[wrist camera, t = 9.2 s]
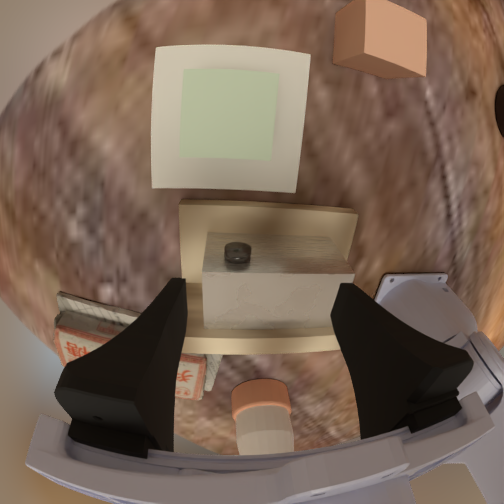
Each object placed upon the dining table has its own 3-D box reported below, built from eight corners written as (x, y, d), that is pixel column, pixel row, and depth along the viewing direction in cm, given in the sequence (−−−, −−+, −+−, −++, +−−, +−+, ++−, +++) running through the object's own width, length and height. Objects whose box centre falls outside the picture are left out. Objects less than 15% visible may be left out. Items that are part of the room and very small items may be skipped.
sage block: (265, 83, 15) (279, 73, 11) (259, 147, 17) (270, 161, 13) (196, 80, 14) (183, 68, 10) (192, 144, 17) (179, 157, 12)
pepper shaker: (219, 392, 31) (225, 534, 15) (266, 371, 30) (291, 529, 13) (253, 410, 34) (267, 531, 18) (297, 392, 33) (325, 522, 16)
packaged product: (61, 378, 23) (39, 318, 18) (73, 348, 27) (60, 287, 22) (211, 414, 26) (231, 365, 22) (212, 380, 31) (230, 326, 26)
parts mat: (308, 56, 14) (310, 54, 14) (293, 190, 19) (295, 193, 19) (158, 48, 13) (156, 47, 13) (154, 185, 18) (152, 188, 18)
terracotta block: (387, 31, 13) (426, 19, 9) (385, 79, 15) (425, 76, 11) (335, 13, 13) (365, -8, 8) (332, 63, 15) (364, 52, 10)
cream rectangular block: (331, 229, 20) (357, 265, 15) (318, 284, 22) (337, 326, 18) (207, 224, 19) (201, 262, 14) (207, 283, 21) (204, 328, 17)
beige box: (352, 208, 20) (397, 252, 14) (330, 293, 24) (357, 349, 18) (181, 199, 19) (160, 245, 13) (185, 292, 23) (175, 355, 17)
